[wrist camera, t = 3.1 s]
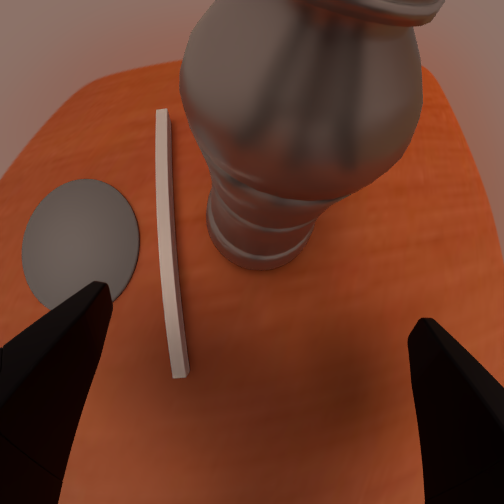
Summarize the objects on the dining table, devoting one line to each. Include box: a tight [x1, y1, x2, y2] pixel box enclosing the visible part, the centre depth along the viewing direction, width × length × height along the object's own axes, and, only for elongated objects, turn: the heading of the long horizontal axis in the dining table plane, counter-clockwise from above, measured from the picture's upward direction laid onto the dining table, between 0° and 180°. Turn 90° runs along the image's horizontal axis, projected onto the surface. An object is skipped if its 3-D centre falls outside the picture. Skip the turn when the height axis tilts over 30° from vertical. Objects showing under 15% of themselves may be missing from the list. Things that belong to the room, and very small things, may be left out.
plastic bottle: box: [179, 0, 445, 270], centre depth 12 cm, size 6×7×20 cm
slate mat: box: [22, 179, 140, 310], centre depth 20 cm, size 10×10×1 cm
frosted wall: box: [156, 108, 190, 378], centre depth 20 cm, size 18×1×2 cm, turn 7°
